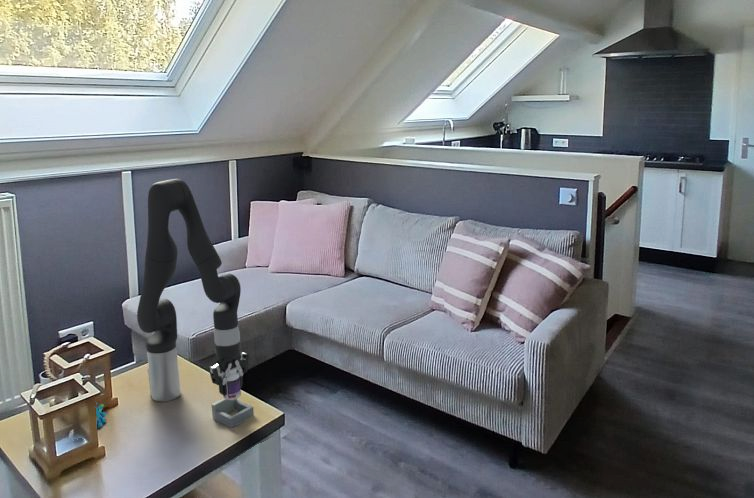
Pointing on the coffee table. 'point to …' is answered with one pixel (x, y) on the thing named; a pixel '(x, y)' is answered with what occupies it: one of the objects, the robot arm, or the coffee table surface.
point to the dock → (227, 406)
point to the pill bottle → (233, 385)
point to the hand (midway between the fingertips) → (231, 390)
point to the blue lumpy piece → (103, 414)
